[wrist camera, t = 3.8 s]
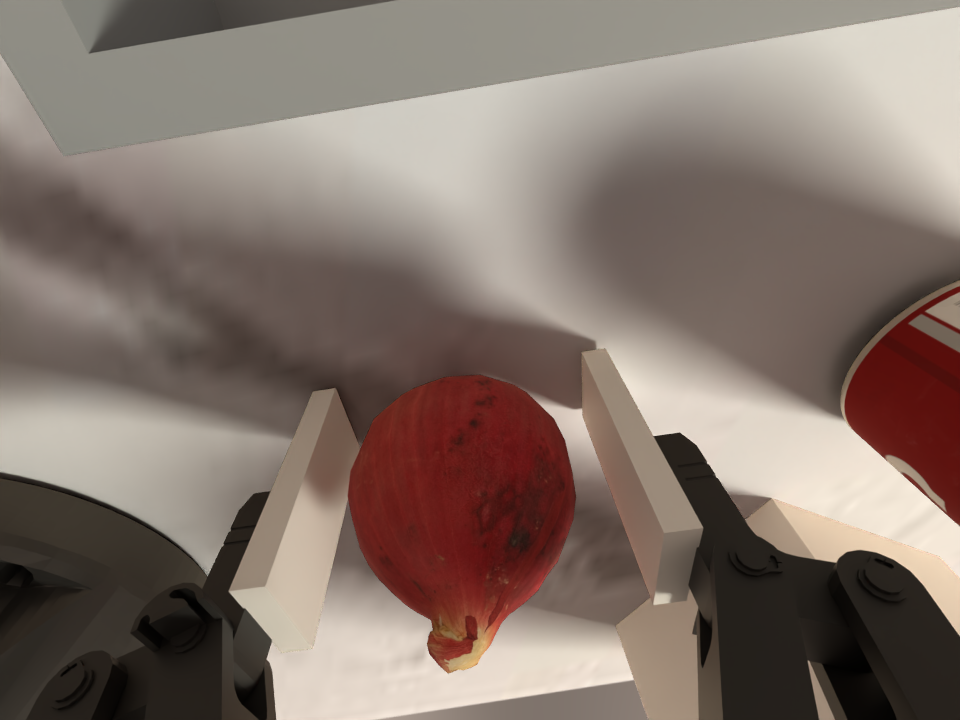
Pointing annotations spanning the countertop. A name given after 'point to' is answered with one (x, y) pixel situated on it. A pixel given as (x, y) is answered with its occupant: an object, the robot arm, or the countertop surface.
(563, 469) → the onion
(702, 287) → the countertop surface
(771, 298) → the countertop surface
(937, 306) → the soda can
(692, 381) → the countertop surface
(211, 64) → the tote
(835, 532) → the milk
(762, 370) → the countertop surface
